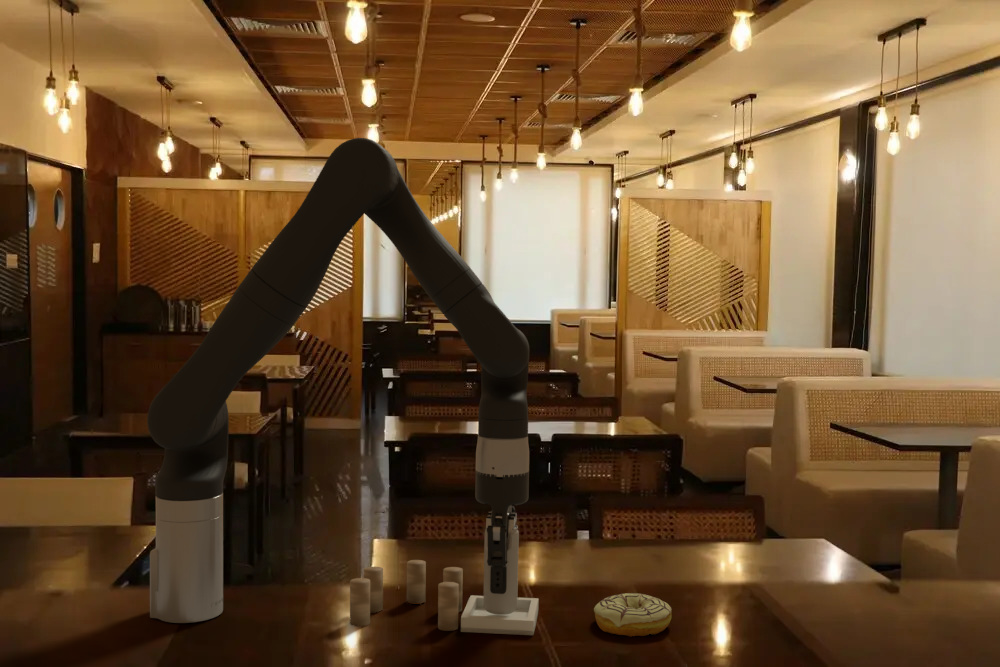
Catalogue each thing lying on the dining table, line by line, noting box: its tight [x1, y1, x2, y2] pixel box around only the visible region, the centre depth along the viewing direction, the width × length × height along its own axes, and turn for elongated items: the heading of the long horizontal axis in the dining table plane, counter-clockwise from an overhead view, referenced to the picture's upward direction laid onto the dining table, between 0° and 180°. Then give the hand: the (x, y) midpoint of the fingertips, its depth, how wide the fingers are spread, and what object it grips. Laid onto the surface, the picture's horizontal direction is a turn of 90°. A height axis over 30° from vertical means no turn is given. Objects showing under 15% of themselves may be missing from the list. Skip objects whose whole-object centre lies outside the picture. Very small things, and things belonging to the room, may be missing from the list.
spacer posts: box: [349, 559, 464, 632], centre depth 147 cm, size 15×13×6 cm
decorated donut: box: [593, 592, 673, 638], centre depth 143 cm, size 10×11×4 cm
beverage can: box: [483, 524, 520, 615], centre depth 144 cm, size 5×5×12 cm
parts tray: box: [460, 594, 540, 636], centre depth 144 cm, size 10×10×2 cm
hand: (500, 586), depth 144 cm, fingers closed on beverage can, 4 cm apart
